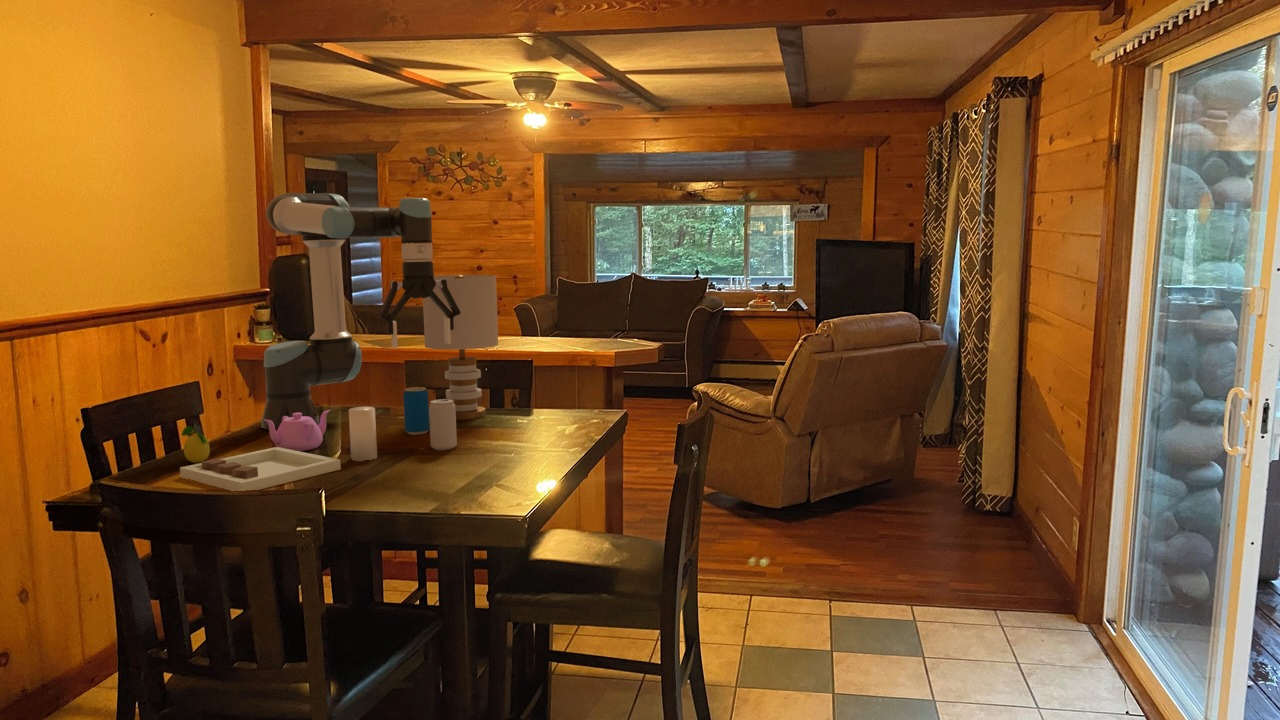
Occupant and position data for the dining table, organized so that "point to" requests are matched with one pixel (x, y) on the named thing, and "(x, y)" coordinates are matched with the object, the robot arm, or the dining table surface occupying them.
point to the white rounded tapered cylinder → (363, 433)
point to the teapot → (298, 432)
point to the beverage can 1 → (416, 410)
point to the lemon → (195, 445)
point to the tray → (265, 469)
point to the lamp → (464, 335)
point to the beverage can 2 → (442, 424)
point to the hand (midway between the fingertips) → (421, 345)
